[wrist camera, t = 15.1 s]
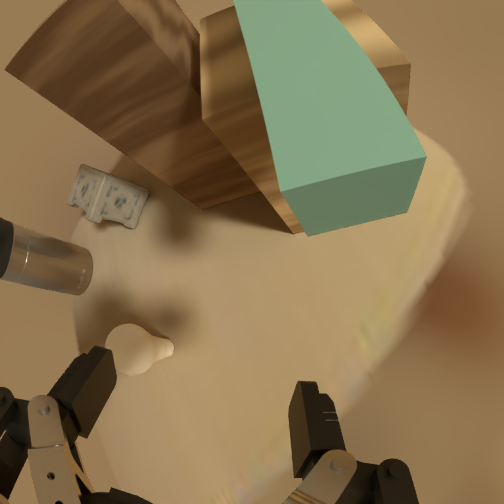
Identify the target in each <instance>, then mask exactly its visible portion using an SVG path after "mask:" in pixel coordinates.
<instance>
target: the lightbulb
mask: <svg viewBox="0 0 504 504" xmlns="http://www.w3.org/2000/svg"><path fill="white" fill-rule="evenodd" d="M105 348H107V349H110V350H112V353H113V358H114V364H115V369H116V370H117V371H119V372H120V373H123V374H126V375H138V374H141V373H143V372H145V371H147V370H148V369H149V368H150V367H151V365H152V364H153V363H154V362H155V361H157V360H161V359H162V358H165V357H169V356H171V355H172V354H173V351H174V346H173V343H172V342H171V341H170V340H169V339H164V338H160V337H157V336H152V335H150V334H149V333H148V332H147V331H146V330H145V329H143V328H142V327H140V326H138V325H135V324H122V325H119V326H117V327H115V328H114V329H113V330H112V331H111V332H110V333H109V335H108V337H107V339H106V342H105Z"/></svg>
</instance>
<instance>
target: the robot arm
mask: <svg viewBox="0 0 504 504" xmlns="http://www.w3.org/2000/svg"><path fill="white" fill-rule="evenodd" d="M91 275H92V258H91V255H90V253H89V251H88V250H87V249H85V248H82V247H79V246H76V245H73V244H70V243H68V242H64V241H62V240H59V239H56V238H53V237H50V236H47V235H45V234H42V233H39V232H36V231H33V230H31V229H28V228H25V227H22V226H20V225H17V224H14V223H12V222H9V221H6V220H4V219H2V218H0V279H2V280H6V281H10V282H15V283H19V284H23V285H28V286H32V287H37V288H42V289H46V290H52V291H56V292H61V293H67V294H72V295H80V294H82V293H83V292H84V291H85V290H86V288H87V287H88V284H89V282H90V279H91ZM116 380H117V374H116V369H115V364H114V358H113V353H112V350H110V349H107V348H103V347H100V346H94V347H93V348H92V349H91V351H90V352H89V353H88V354H85V353H83V354H82V355H80V356H78V357H77V358H75V359H74V360H73V362H72V363H71V364H70V366H69V368H67V369H66V371H65V373H63V375H62V376H61V377H60V379H59V380H58V381H57V382H56V384H55V385H54V386H53V388H52V389H51V391H50V392H49V393H48V394H47V395H39V396H36V397H34V398H33V399H32V400H31V401H27V400H22V399H17V398H14V396H13V394H12V392H11V391H10V390H9V389H7V388H5V387H0V437H1V435H2V434H3V432H4V430H5V431H6V432H5V434H4V435H3V437H2V439H1V441H0V504H9V502H8V499H9V497H10V494H11V492H12V490H13V487H14V485H15V483H16V481H17V479H18V476H19V474H20V472H21V470H22V468H23V466H24V464H25V462H26V459H27V457H28V458H29V464H30V469H31V474H32V479H33V483H34V488H35V492H36V496H37V499H38V503H39V504H153V503H151V502H149V501H147V500H145V499H143V498H141V497H139V496H136V495H133V494H130V493H127V492H124V491H121V490H118V489H115V488H112V487H111V489H110V492H109V493H108V492H95V491H94V489H93V487H92V485H91V483H90V481H89V479H88V477H87V474H86V472H85V468H84V465H83V463H82V459H81V456H80V453H79V450H78V446H77V443H76V439H77V437H78V435H79V436H82V437H84V438H88V436H89V434H90V432H91V430H92V428H93V426H94V424H95V423H96V421H97V419H98V417H99V415H100V413H101V411H102V409H103V407H104V406H105V404H106V402H107V400H108V398H109V396H110V395H111V393H112V391H113V389H114V387H115V385H116ZM288 417H289V428H290V439H291V449H292V461H293V472H294V478H302V482H301V484H300V485H299V486H298V487H297V488H296V490H295V491H294V492H292V493H291V494H290V495H289V496H288V498H287V499H286V500H285V501H284V502H283V503H282V504H419V502H418V499H417V495H416V491H415V488H414V484H413V481H412V477H411V474H410V471H409V468H408V466H407V465H406V464H405V463H404V462H403V461H401V460H398V459H387V460H384V461H383V462H382V463H381V464H380V465H375V464H369V463H363V462H359V461H357V460H356V459H355V458H354V457H353V456H352V455H351V454H350V453H348V452H347V451H346V448H345V444H344V440H343V436H342V432H341V429H340V425H339V421H338V417H337V414H336V409H335V406H334V402H333V401H332V400H331V398H330V397H329V396H328V395H327V394H319V390H318V386H317V383H316V382H312V381H298V382H297V384H296V387H295V390H294V393H293V396H292V399H291V402H290V405H289V413H288Z"/></svg>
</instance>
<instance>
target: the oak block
mask: <svg viewBox="0 0 504 504" xmlns="http://www.w3.org/2000/svg"><path fill="white" fill-rule="evenodd" d="M321 1H322V2H323V3H324V4H325V5H326V7H327V8H328V9H329V10H330V11H331V12H332V13H333V14H334V15H335V16H336V18H337V19H338V20H339V21H340V22H341V23H342V25H343V26H344V27H345V28H346V29H347V30H348V32H349V33H350V34H351V35H352V37H353V38H354V39H355V40H356V42H357V43H358V44H359V46H360V47H361V48H362V49H363V51H364V52H365V53H366V55H367V56H368V58H369V59H370V60H371V62H372V63H373V65H374V66H375V67H376V69H377V70H378V72H379V73H380V75H381V76H382V78H383V79H384V81H385V82H386V84H387V85H388V87H389V88H390V90H391V92H392V93H393V95H394V97H395V98H396V100H397V101H398V103H399V105H400V107H401V108H402V110H403V112H404V114H405V115H406V114H407V105H408V95H409V83H410V68H411V63H410V62H409V61H408V60H407V58H406V57H405V56H404V55H403V53H402V52H401V51H400V50H399V49H398V47H397V46H396V45H395V44H394V43H393V42H392V41H391V39H390V38H389V37H388V36H387V35H386V34H385V33H384V32H383V31H382V30H381V29H380V28H379V27H378V25H376V23H374V21H373V20H371V19H370V17H369V16H368V15H367V14H366V13H364V12H363V11H362V10H361V9H360V8H359V7H358V6H357V5H356V4H355V3H354V2H353V1H351V0H321ZM200 72H201V102H202V120H203V121H204V122H205V123H206V124H207V126H208V127H209V128H210V129H211V130H212V131H213V133H214V134H215V135H216V136H217V138H218V139H219V140H220V141H221V142H222V144H223V145H224V146H225V147H226V148H227V150H228V151H229V152H230V153H231V155H232V156H233V157H234V158H235V159H236V161H237V162H238V163H239V164H240V166H241V167H242V168H243V169H244V171H245V172H246V173H247V174H248V176H249V177H250V178H251V179H252V181H253V182H254V183H255V184H256V186H257V187H258V188H259V190H260V191H261V192H262V193H263V195H264V196H265V197H266V199H267V200H268V201H269V202H270V204H271V205H272V206H273V208H274V209H275V210H276V212H277V213H278V214H279V215H280V217H281V218H282V219H283V221H284V222H285V223H286V225H287V226H288V227H289V229H290V230H291V231H292V233H293V234H296V233H300V232H304V229H303V228H302V226H301V224H300V223H299V221H298V220H297V218H296V216H295V215H294V213H293V211H292V210H291V208H290V207H289V205H288V203H287V202H286V200H285V199H284V197H283V196H282V194H281V192H280V188H279V184H278V179H277V174H276V169H275V165H274V160H273V155H272V151H271V146H270V142H269V137H268V133H267V129H266V124H265V120H264V116H263V111H262V107H261V103H260V99H259V95H258V91H257V87H256V83H255V79H254V75H253V71H252V67H251V63H250V59H249V55H248V52H247V48H246V44H245V40H244V37H243V33H242V29H241V26H240V22H239V19H238V15H237V12H236V8H235V5H234V6H232V7H229V8H227V9H224V10H221V11H219V12H216V13H214V14H212V15H209V16H207V17H205V18H202V19H200Z"/></svg>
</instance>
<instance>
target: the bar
mask: <svg viewBox="0 0 504 504" xmlns="http://www.w3.org/2000/svg"><path fill="white" fill-rule="evenodd" d="M233 1H234V5H235V8H236V12H237V15H238V19H239V22H240V26H241V29H242V33H243V37H244V40H245V44H246V48H247V52H248V55H249V59H250V63H251V67H252V71H253V75H254V79H255V83H256V87H257V91H258V95H259V99H260V103H261V107H262V111H263V116H264V120H265V124H266V129H267V133H268V137H269V142H270V146H271V151H272V155H273V160H274V165H275V169H276V174H277V179H278V184H279V188H280V192H281V194H282V196H283V197H284V199H285V200H286V202H287V203H288V205H289V207H290V208H291V210H292V211H293V213H294V215H295V216H296V218H297V220H298V221H299V223H300V224H301V226H302V228H303V229H304V231H305V233H306V234H307V236H312V235H317V234H321V233H325V232H329V231H333V230H337V229H341V228H345V227H349V226H354V225H358V224H362V223H366V222H370V221H374V220H378V219H382V218H387V217H391V216H395V215H399V214H403V213H407V211H408V209H409V206H410V203H411V201H412V198H413V195H414V193H415V190H416V187H417V184H418V181H419V178H420V176H421V173H422V170H423V167H424V163H425V160H426V157H427V156H426V154H425V152H424V150H423V148H422V146H421V144H420V142H419V140H418V138H417V136H416V134H415V132H414V130H413V128H412V126H411V124H410V123H409V121H408V119H407V117H406V115H405V114H404V112H403V110H402V108H401V107H400V105H399V103H398V101H397V100H396V98H395V97H394V95H393V93H392V92H391V90H390V88H389V87H388V85H387V84H386V82H385V81H384V79H383V78H382V76H381V75H380V73H379V72H378V70H377V69H376V67H375V66H374V65H373V63H372V62H371V60H370V59H369V58H368V56H367V55H366V53H365V52H364V51H363V49H362V48H361V47H360V46H359V44H358V43H357V42H356V40H355V39H354V38H353V37H352V35H351V34H350V33H349V32H348V30H347V29H346V28H345V27H344V26H343V25H342V23H341V22H340V21H339V20H338V19H337V18H336V16H335V15H334V14H333V13H332V12H331V11H330V10H329V9H328V8H327V7H326V5H325V4H324V3H323V2H322V1H321V0H233Z"/></svg>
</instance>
